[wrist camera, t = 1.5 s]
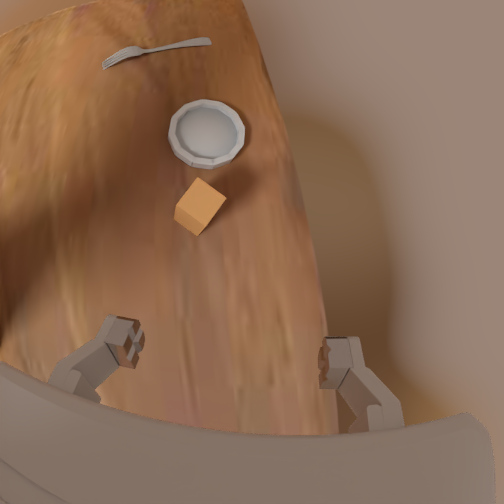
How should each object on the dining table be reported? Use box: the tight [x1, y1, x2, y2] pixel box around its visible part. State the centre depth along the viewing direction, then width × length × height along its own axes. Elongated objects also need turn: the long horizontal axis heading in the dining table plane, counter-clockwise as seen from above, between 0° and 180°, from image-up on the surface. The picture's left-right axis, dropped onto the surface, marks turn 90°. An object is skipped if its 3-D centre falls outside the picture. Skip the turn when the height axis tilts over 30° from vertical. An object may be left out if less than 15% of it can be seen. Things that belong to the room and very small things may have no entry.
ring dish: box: [168, 99, 245, 169], centre depth 39 cm, size 11×11×2 cm
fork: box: [102, 37, 212, 70], centre depth 38 cm, size 3×21×3 cm, turn 113°
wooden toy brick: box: [174, 177, 226, 236], centre depth 34 cm, size 4×4×8 cm
